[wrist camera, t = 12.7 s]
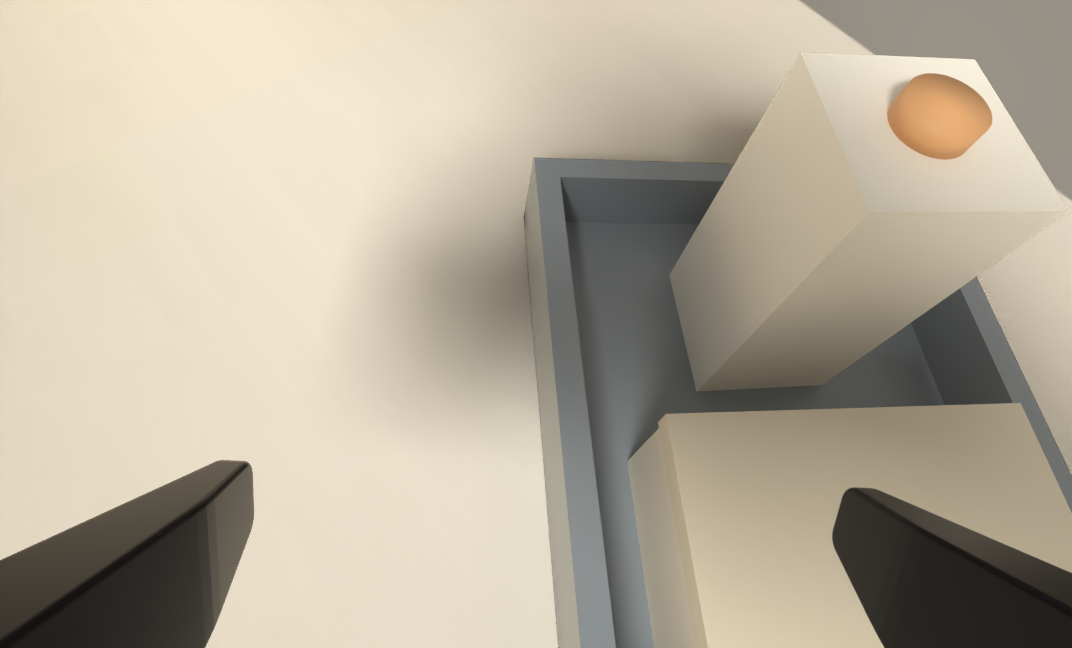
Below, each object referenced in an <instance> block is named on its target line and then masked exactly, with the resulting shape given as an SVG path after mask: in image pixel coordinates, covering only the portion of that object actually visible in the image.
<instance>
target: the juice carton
mask: <svg viewBox="0 0 1072 648" xmlns="http://www.w3.org/2000/svg"><path fill="white" fill-rule="evenodd" d="M1067 212H1069V210H1068V209H1067V207H1066V205H1065V204H1064V202H1063V201H1062V199H1061V197H1060V196H1059V194H1058V193H1057V191H1056V189H1055V188H1054V186H1053V185H1052V183H1051V182H1050V180H1049V178H1048V176H1047V175H1046V173H1045V172H1044V170H1043V169H1042V167H1041V165H1040V164H1039V162H1038V160H1037V159H1036V157H1035V156H1034V154H1033V152H1032V151H1031V149H1030V148H1029V146H1028V144H1027V143H1026V141H1025V140H1024V138H1023V136H1022V135H1021V133H1020V131H1019V130H1018V128H1017V127H1016V125H1015V123H1014V122H1013V120H1012V119H1011V117H1010V115H1009V114H1008V112H1007V111H1006V109H1005V107H1004V106H1003V104H1002V102H1001V101H1000V99H999V98H998V96H997V95H996V93H995V91H994V90H993V88H992V86H991V85H990V83H989V82H988V80H987V78H986V77H985V75H984V74H983V72H982V70H981V69H980V67H979V66H978V64H977V62H976V61H975V60H974V59H972V60H971V59H948V58H926V57H925V58H924V57H901V56H900V57H899V56H878V55H854V54H830V53H806V52H800V54H799V55H798V57H797V59H796V60H795V62H794V64H793V65H792V67H791V69H790V71H789V72H788V74H787V76H786V77H785V79H784V81H783V83H782V84H781V86H780V88H779V89H778V91H777V93H776V94H775V96H774V98H773V100H772V101H771V103H770V105H769V106H768V108H767V110H766V111H765V113H764V115H763V117H762V118H761V120H760V122H759V123H758V125H757V127H756V128H755V130H754V132H753V134H752V135H751V137H750V139H749V140H748V142H747V144H746V145H745V147H744V149H743V151H742V152H741V154H740V156H739V157H738V159H737V161H736V162H735V164H734V166H733V168H732V169H731V171H730V173H729V174H728V176H727V178H726V179H725V181H724V183H723V185H722V186H721V188H720V190H719V191H718V193H717V195H716V196H715V198H714V200H713V202H712V203H711V205H710V207H709V208H708V210H707V212H706V213H705V215H704V217H703V219H702V220H701V222H700V224H699V225H698V227H697V229H696V230H695V232H694V234H693V236H692V237H691V239H690V241H689V242H688V244H687V246H686V247H685V249H684V251H683V253H682V254H681V256H680V258H679V259H678V261H677V263H676V264H675V266H674V268H673V270H672V271H671V273H670V275H669V276H670V281H671V285H672V289H673V294H674V298H675V302H676V306H677V311H678V315H679V319H680V324H681V328H682V332H683V336H684V341H685V345H686V349H687V353H688V358H689V362H690V366H691V371H692V375H693V379H694V383H695V388H696V392H697V391H717V390H737V389H757V388H776V387H796V386H816V385H823V384H824V383H826V382H827V381H829V380H830V379H831V378H833V377H834V376H836V375H837V374H839V373H840V372H841V371H843V370H844V369H846V368H847V367H849V366H850V365H851V364H853V363H854V362H856V361H857V360H858V359H860V358H861V357H863V356H864V355H866V354H867V353H868V352H870V351H871V350H873V349H874V348H876V347H877V346H878V345H880V344H881V343H883V342H884V341H885V340H887V339H888V338H890V337H891V336H893V335H894V334H895V333H897V332H898V331H900V330H901V329H903V328H904V327H905V326H907V325H908V324H910V323H911V322H912V321H914V320H915V319H917V318H918V317H920V316H921V315H922V314H924V313H925V312H927V311H928V310H930V309H931V308H932V307H934V306H935V305H937V304H938V303H939V302H941V301H942V300H944V299H945V298H947V297H948V296H949V295H951V294H952V293H954V292H955V291H957V290H958V289H959V288H961V287H962V286H964V285H965V284H966V283H968V282H969V281H971V280H972V279H974V278H975V277H976V276H978V275H979V274H981V273H982V272H984V271H985V270H986V269H988V268H989V267H991V266H992V265H994V264H995V263H996V262H998V261H999V260H1001V259H1002V258H1003V257H1005V256H1006V255H1008V254H1009V253H1011V252H1012V251H1013V250H1015V249H1016V248H1018V247H1019V246H1021V245H1022V244H1023V243H1025V242H1026V241H1028V240H1029V239H1030V238H1032V237H1033V236H1035V235H1036V234H1038V233H1039V232H1040V231H1042V230H1043V229H1045V228H1046V227H1048V226H1049V225H1050V224H1052V223H1053V222H1055V221H1056V220H1057V219H1059V218H1060V217H1062V216H1063V215H1065V214H1066V213H1067Z"/></svg>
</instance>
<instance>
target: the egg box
mask: <svg viewBox="0 0 1072 648" xmlns="http://www.w3.org/2000/svg"><path fill="white" fill-rule="evenodd" d="M658 426H659V429H658V430H657V431H656V432H655V433H654V434H653V435H652V436H651V437H650V438H649V439H648V440H647V441H646V442H645V443H644V444H643V445H642V446H641V448H640V449H639V450H638V451H637V452H636V453H635V454H634V455H633V456H632V457H631V458H630V459H629V460H628V461H627V462H628V469H629V476H630V483H631V490H632V497H633V504H634V511H635V518H636V525H637V532H638V539H639V546H640V553H641V559H642V566H643V573H644V580H645V587H646V594H647V601H648V608H649V615H650V622H651V629H652V636H653V643H654V648H884V647H883V645H882V643H881V641H880V640H879V638H878V636H877V634H876V632H875V630H874V628H873V626H872V624H871V622H870V620H869V618H868V616H867V614H866V612H865V610H864V608H863V606H862V604H861V602H860V600H859V598H858V596H857V594H856V592H855V590H854V588H853V586H852V584H851V582H850V580H849V578H848V575H847V573H846V571H845V569H844V567H843V565H842V563H841V561H840V559H839V557H838V555H837V553H836V551H835V549H834V546H833V541H832V532H833V527H834V524H835V520H836V517H837V513H838V510H839V506H840V503H841V499H842V496H843V494H844V492H845V491H846V490H847V489H849V488H853V487H858V488H874V489H877V490H880V491H882V492H884V493H887V494H889V495H891V496H894V497H896V498H898V499H901V500H903V501H905V502H908V503H910V504H912V505H915V506H917V507H919V508H922V509H924V510H926V511H929V512H931V513H933V514H936V515H938V516H940V517H943V518H945V519H947V520H950V521H952V522H954V523H957V524H959V525H961V526H964V527H966V528H968V529H971V530H973V531H975V532H978V533H980V534H982V535H985V536H987V537H989V538H992V539H994V540H996V541H999V542H1001V543H1003V544H1006V545H1008V546H1010V547H1013V548H1015V549H1017V550H1020V551H1022V552H1024V553H1026V554H1029V555H1031V556H1033V557H1036V558H1038V559H1040V560H1043V561H1045V562H1047V563H1050V564H1052V565H1054V566H1057V567H1059V568H1061V569H1064V570H1066V571H1068V572H1071V573H1072V512H1071V510H1070V508H1069V506H1068V504H1067V502H1066V500H1065V497H1064V495H1063V493H1062V491H1061V489H1060V487H1059V485H1058V482H1057V480H1056V478H1055V476H1054V474H1053V472H1052V470H1051V467H1050V465H1049V463H1048V461H1047V459H1046V457H1045V454H1044V452H1043V450H1042V448H1041V446H1040V444H1039V442H1038V439H1037V437H1036V435H1035V433H1034V431H1033V429H1032V427H1031V424H1030V422H1029V420H1028V418H1027V416H1026V414H1025V411H1024V409H1023V407H1022V405H1021V403H1004V404H971V405H939V406H906V407H874V408H841V409H808V410H776V411H743V412H711V413H678V414H665V415H664V416H663V418H662V419H661V420H660V421H659V422H658Z"/></svg>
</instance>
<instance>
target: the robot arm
mask: <svg viewBox="0 0 1072 648" xmlns="http://www.w3.org/2000/svg"><path fill="white" fill-rule="evenodd" d="M253 519H254V497H253V472H252V468H251V465H250V464H249V463H248V462H245V461H231V460H220V461H216V462H214V463H212V464H210V465H208V466H205V467H203V468H201V469H199V470H197V471H194V472H192V473H190V474H188V475H186V476H183V477H181V478H179V479H177V480H175V481H173V482H170V483H168V484H166V485H164V486H162V487H159V488H157V489H155V490H153V491H151V492H148V493H146V494H144V495H142V496H140V497H138V498H135V499H133V500H131V501H129V502H127V503H124V504H122V505H120V506H118V507H116V508H114V509H111V510H109V511H107V512H105V513H103V514H100V515H98V516H96V517H94V518H92V519H89V520H87V521H85V522H83V523H81V524H79V525H76V526H74V527H72V528H70V529H68V530H65V531H63V532H61V533H59V534H57V535H55V536H52V537H50V538H48V539H46V540H44V541H41V542H39V543H37V544H35V545H33V546H30V547H28V548H26V549H24V550H22V551H20V552H17V553H15V554H13V555H11V556H9V557H6V558H4V559H2V560H0V648H205V647H206V645H207V643H208V640H209V638H210V636H211V634H212V632H213V630H214V628H215V625H216V623H217V620H218V618H219V615H220V613H221V610H222V607H223V605H224V602H225V599H226V596H227V594H228V591H229V588H230V586H231V583H232V580H233V578H234V575H235V572H236V570H237V567H238V564H239V561H240V559H241V556H242V553H243V551H244V548H245V545H246V543H247V540H248V537H249V534H250V532H251V529H252V525H253ZM832 541H833V546H834V549H835V551H836V553H837V555H838V557H839V559H840V561H841V563H842V565H843V567H844V569H845V571H846V573H847V575H848V578H849V580H850V582H851V584H852V586H853V588H854V590H855V592H856V594H857V596H858V598H859V600H860V602H861V604H862V606H863V608H864V610H865V612H866V614H867V616H868V618H869V620H870V622H871V624H872V626H873V628H874V630H875V632H876V634H877V636H878V638H879V640H880V641H881V643H882V645H883V647H884V648H1072V573H1071V572H1068V571H1066V570H1064V569H1061V568H1059V567H1057V566H1054V565H1052V564H1050V563H1047V562H1045V561H1043V560H1040V559H1038V558H1036V557H1033V556H1031V555H1029V554H1026V553H1024V552H1022V551H1020V550H1017V549H1015V548H1013V547H1010V546H1008V545H1006V544H1003V543H1001V542H999V541H996V540H994V539H992V538H989V537H987V536H985V535H982V534H980V533H978V532H975V531H973V530H971V529H968V528H966V527H964V526H961V525H959V524H957V523H954V522H952V521H950V520H947V519H945V518H943V517H940V516H938V515H936V514H933V513H931V512H929V511H926V510H924V509H922V508H919V507H917V506H915V505H912V504H910V503H908V502H905V501H903V500H901V499H898V498H896V497H894V496H891V495H889V494H887V493H884V492H882V491H880V490H877V489H874V488H858V487H853V488H849V489H847V490H846V491H845V492H844V494H843V496H842V499H841V503H840V506H839V510H838V513H837V517H836V520H835V524H834V527H833V532H832Z"/></svg>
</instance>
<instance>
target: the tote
mask: <svg viewBox="0 0 1072 648" xmlns="http://www.w3.org/2000/svg"><path fill="white" fill-rule="evenodd" d="M733 166H734V164H723V163H691V162H659V161H627V160H594V159H562V158H534V161H533V167H532V173H531V179H530V185H529V190H528V196H527V202H526V208H525V214H524V225H525V238H526V250H527V262H528V275H529V287H530V300H531V312H532V325H533V337H534V350H535V362H536V375H537V387H538V400H539V412H540V425H541V437H542V450H543V462H544V474H545V487H546V499H547V512H548V524H549V537H550V549H551V562H552V574H553V587H554V599H555V612H556V624H557V637H558V648H654V643H653V636H652V629H651V622H650V615H649V608H648V601H647V594H646V587H645V580H644V573H643V566H642V559H641V553H640V546H639V539H638V532H637V525H636V518H635V511H634V504H633V497H632V490H631V483H630V476H629V469H628V462H627V461H628V460H629V459H630V458H631V457H632V456H633V455H634V454H635V453H636V452H637V451H638V450H639V449H640V448H641V446H642V445H643V444H644V443H645V442H646V441H647V440H648V439H649V438H650V437H651V436H652V435H653V434H654V433H655V432H656V431H657V430H658V429H659V426H658V422H659V421H660V420H661V419H662V418H663V416H664V415H665V414H678V413H711V412H743V411H776V410H808V409H841V408H874V407H906V406H939V405H971V404H1004V403H1021V405H1022V407H1023V409H1024V411H1025V414H1026V416H1027V418H1028V420H1029V422H1030V424H1031V427H1032V429H1033V431H1034V433H1035V435H1036V437H1037V439H1038V442H1039V444H1040V446H1041V448H1042V450H1043V452H1044V454H1045V457H1046V459H1047V461H1048V463H1049V465H1050V467H1051V470H1052V472H1053V474H1054V476H1055V478H1056V480H1057V482H1058V485H1059V487H1060V489H1061V491H1062V493H1063V495H1064V497H1065V500H1066V502H1067V504H1068V506H1069V508H1070V510H1071V512H1072V475H1071V473H1070V471H1069V469H1068V467H1067V465H1066V463H1065V461H1064V459H1063V456H1062V454H1061V452H1060V450H1059V448H1058V446H1057V444H1056V442H1055V440H1054V438H1053V436H1052V433H1051V431H1050V429H1049V427H1048V425H1047V423H1046V421H1045V419H1044V417H1043V415H1042V413H1041V410H1040V408H1039V406H1038V404H1037V402H1036V400H1035V398H1034V396H1033V394H1032V392H1031V390H1030V387H1029V385H1028V383H1027V381H1026V379H1025V377H1024V375H1023V373H1022V371H1021V369H1020V367H1019V365H1018V362H1017V360H1016V358H1015V356H1014V354H1013V352H1012V350H1011V348H1010V346H1009V344H1008V342H1007V339H1006V337H1005V335H1004V333H1003V331H1002V329H1001V327H1000V325H999V323H998V321H997V319H996V316H995V314H994V312H993V310H992V308H991V306H990V304H989V302H988V300H987V298H986V296H985V293H984V291H983V289H982V287H981V285H980V283H979V281H978V279H977V277H975V278H974V279H972V280H971V281H969V282H968V283H966V284H965V285H964V286H962V287H961V288H959V289H958V290H957V291H955V292H954V293H952V294H951V295H949V296H948V297H947V298H945V299H944V300H942V301H941V302H939V303H938V304H937V305H935V306H934V307H932V308H931V309H930V310H928V311H927V312H925V313H924V314H922V315H921V316H920V317H918V318H917V319H915V320H914V321H912V322H911V323H910V324H908V325H907V326H905V327H904V328H903V329H901V330H900V331H898V332H897V333H895V334H894V335H893V336H891V337H890V338H888V339H887V340H885V341H884V342H883V343H881V344H880V345H878V346H877V347H876V348H874V349H873V350H871V351H870V352H868V353H867V354H866V355H864V356H863V357H861V358H860V359H858V360H857V361H856V362H854V363H853V364H851V365H850V366H849V367H847V368H846V369H844V370H843V371H841V372H840V373H839V374H837V375H836V376H834V377H833V378H831V379H830V380H829V381H827V382H826V383H824V384H823V385H816V386H796V387H776V388H757V389H737V390H717V391H697V392H696V388H695V383H694V379H693V375H692V371H691V366H690V362H689V358H688V353H687V349H686V345H685V341H684V336H683V332H682V328H681V324H680V319H679V315H678V311H677V306H676V302H675V298H674V294H673V289H672V285H671V281H670V276H669V275H670V273H671V271H672V270H673V268H674V266H675V264H676V263H677V261H678V259H679V258H680V256H681V254H682V253H683V251H684V249H685V247H686V246H687V244H688V242H689V241H690V239H691V237H692V236H693V234H694V232H695V230H696V229H697V227H698V225H699V224H700V222H701V220H702V219H703V217H704V215H705V213H706V212H707V210H708V208H709V207H710V205H711V203H712V202H713V200H714V198H715V196H716V195H717V193H718V191H719V190H720V188H721V186H722V185H723V183H724V181H725V179H726V178H727V176H728V174H729V173H730V171H731V169H732V168H733Z"/></svg>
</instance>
